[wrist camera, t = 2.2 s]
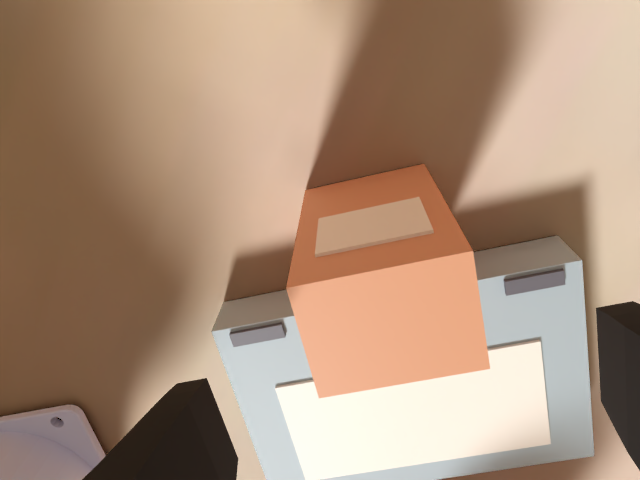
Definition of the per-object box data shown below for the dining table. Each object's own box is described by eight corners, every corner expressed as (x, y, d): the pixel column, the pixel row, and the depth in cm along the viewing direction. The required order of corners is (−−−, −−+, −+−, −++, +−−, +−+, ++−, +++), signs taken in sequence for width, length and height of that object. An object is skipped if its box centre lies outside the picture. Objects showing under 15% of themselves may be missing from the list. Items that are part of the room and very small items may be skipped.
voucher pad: (280, 464, 23) (274, 507, 21) (223, 302, 20) (210, 334, 18) (572, 417, 21) (596, 459, 19) (557, 235, 18) (584, 262, 16)
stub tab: (326, 268, 19) (318, 398, 13) (304, 187, 18) (285, 284, 12) (438, 246, 19) (490, 369, 12) (423, 160, 18) (472, 246, 11)
